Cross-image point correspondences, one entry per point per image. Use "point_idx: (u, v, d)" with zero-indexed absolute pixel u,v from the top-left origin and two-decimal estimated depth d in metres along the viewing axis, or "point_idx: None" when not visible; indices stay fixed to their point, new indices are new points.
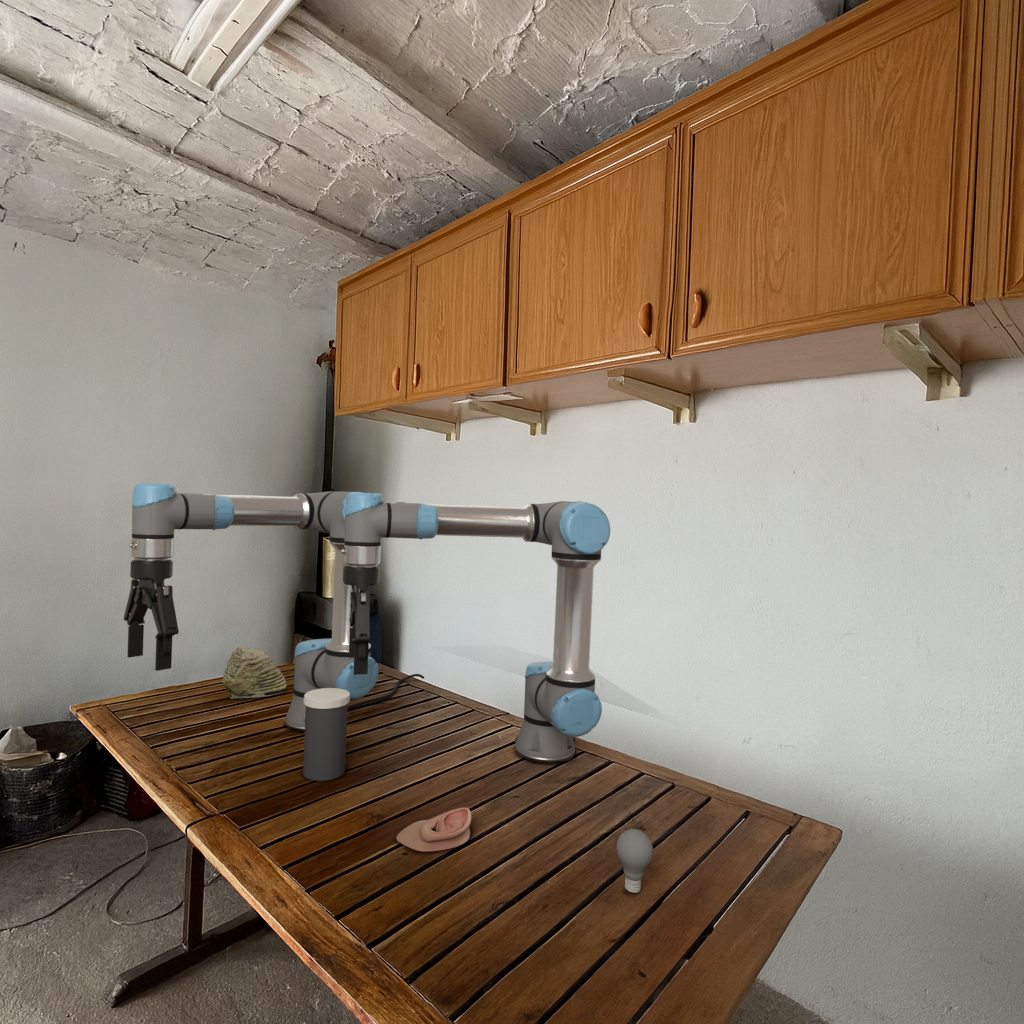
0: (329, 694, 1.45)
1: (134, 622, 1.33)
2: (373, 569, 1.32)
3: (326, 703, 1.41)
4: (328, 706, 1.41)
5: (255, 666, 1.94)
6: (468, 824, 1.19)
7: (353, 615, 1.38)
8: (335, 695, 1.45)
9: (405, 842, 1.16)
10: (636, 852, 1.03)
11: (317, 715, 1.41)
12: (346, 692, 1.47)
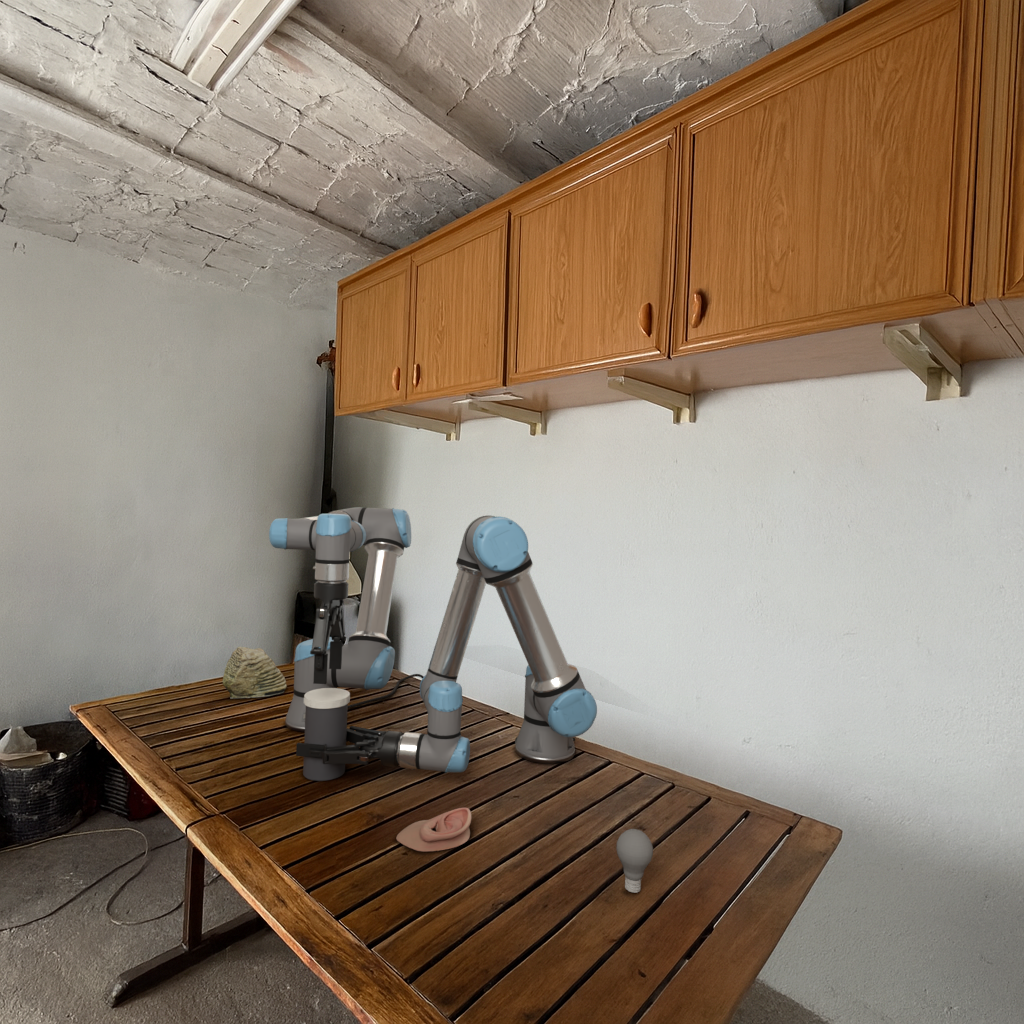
0: (329, 694, 1.45)
1: (335, 638, 1.52)
2: None
3: (326, 703, 1.41)
4: (328, 706, 1.41)
5: (255, 666, 1.94)
6: (468, 824, 1.19)
7: None
8: (335, 695, 1.45)
9: (405, 842, 1.16)
10: (636, 852, 1.03)
11: (318, 715, 1.41)
12: (346, 692, 1.47)
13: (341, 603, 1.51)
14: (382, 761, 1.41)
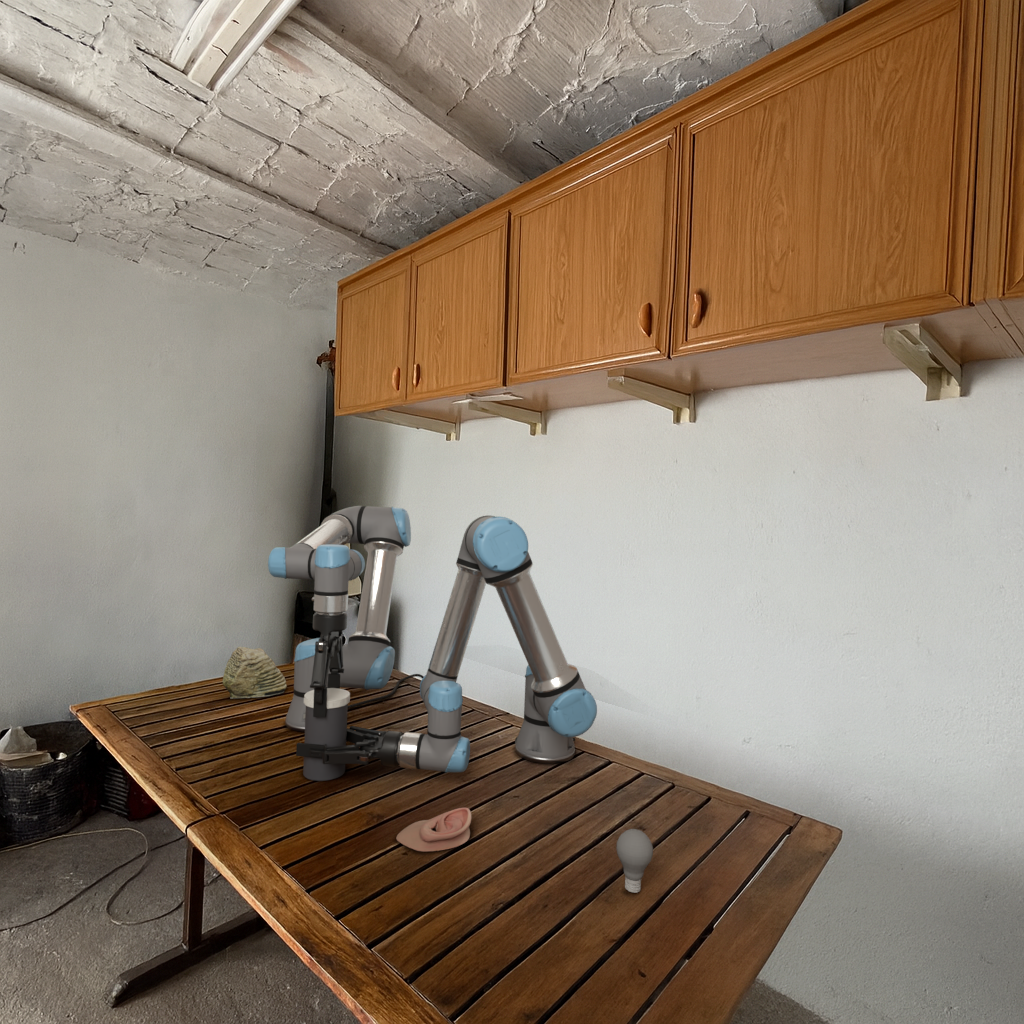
0: (329, 694, 1.45)
1: (333, 670, 1.51)
2: None
3: None
4: (328, 706, 1.41)
5: (255, 666, 1.94)
6: (468, 824, 1.19)
7: None
8: (335, 695, 1.45)
9: (405, 842, 1.16)
10: (636, 852, 1.03)
11: None
12: (346, 692, 1.47)
13: (340, 634, 1.51)
14: (382, 761, 1.41)
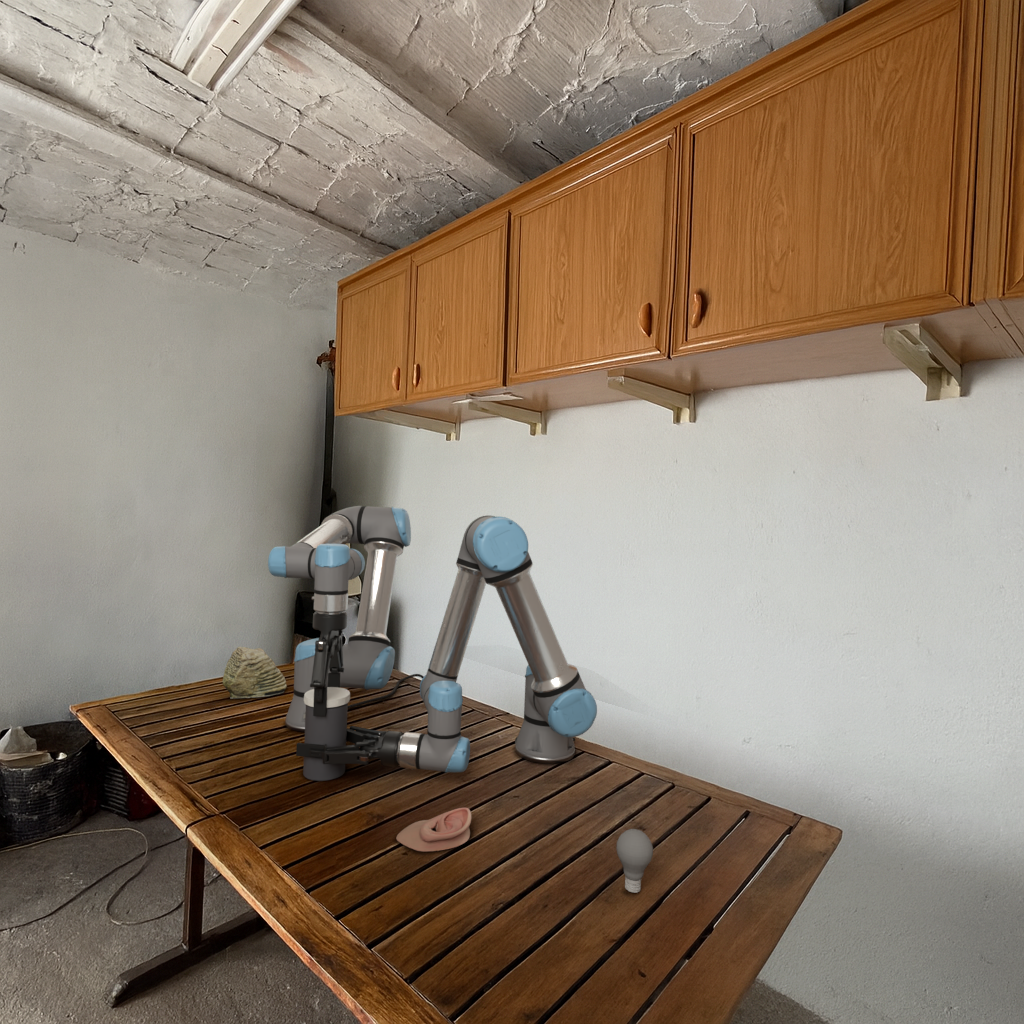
0: (328, 692, 1.46)
1: (333, 669, 1.51)
2: None
3: (348, 696, 1.45)
4: (349, 699, 1.46)
5: (255, 666, 1.94)
6: (468, 824, 1.19)
7: None
8: (334, 691, 1.47)
9: (405, 842, 1.16)
10: (636, 852, 1.03)
11: None
12: (329, 687, 1.50)
13: (340, 633, 1.51)
14: (382, 761, 1.41)
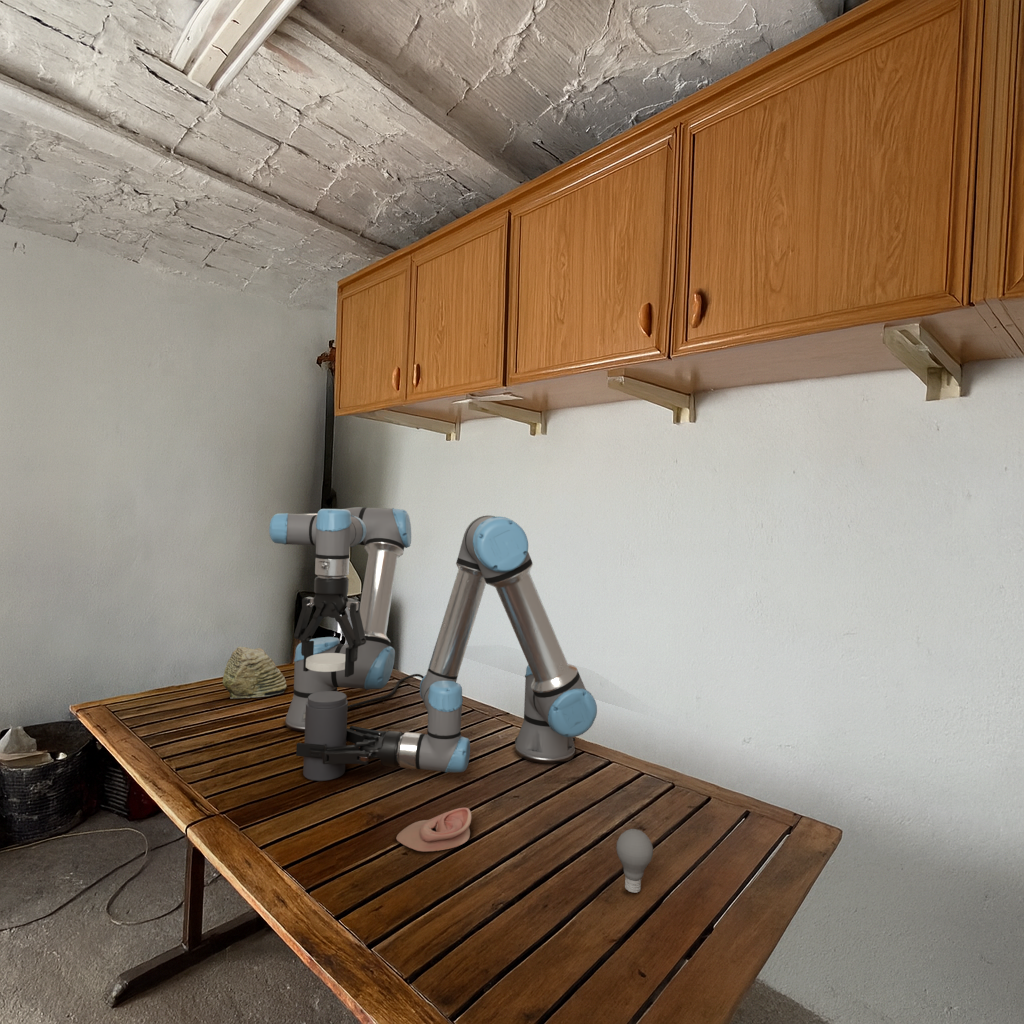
0: (327, 658, 1.46)
1: (307, 639, 1.47)
2: None
3: None
4: None
5: (255, 666, 1.94)
6: (468, 824, 1.19)
7: None
8: (324, 656, 1.47)
9: (405, 842, 1.16)
10: (636, 852, 1.03)
11: (318, 715, 1.41)
12: (310, 657, 1.46)
13: None
14: (382, 761, 1.41)
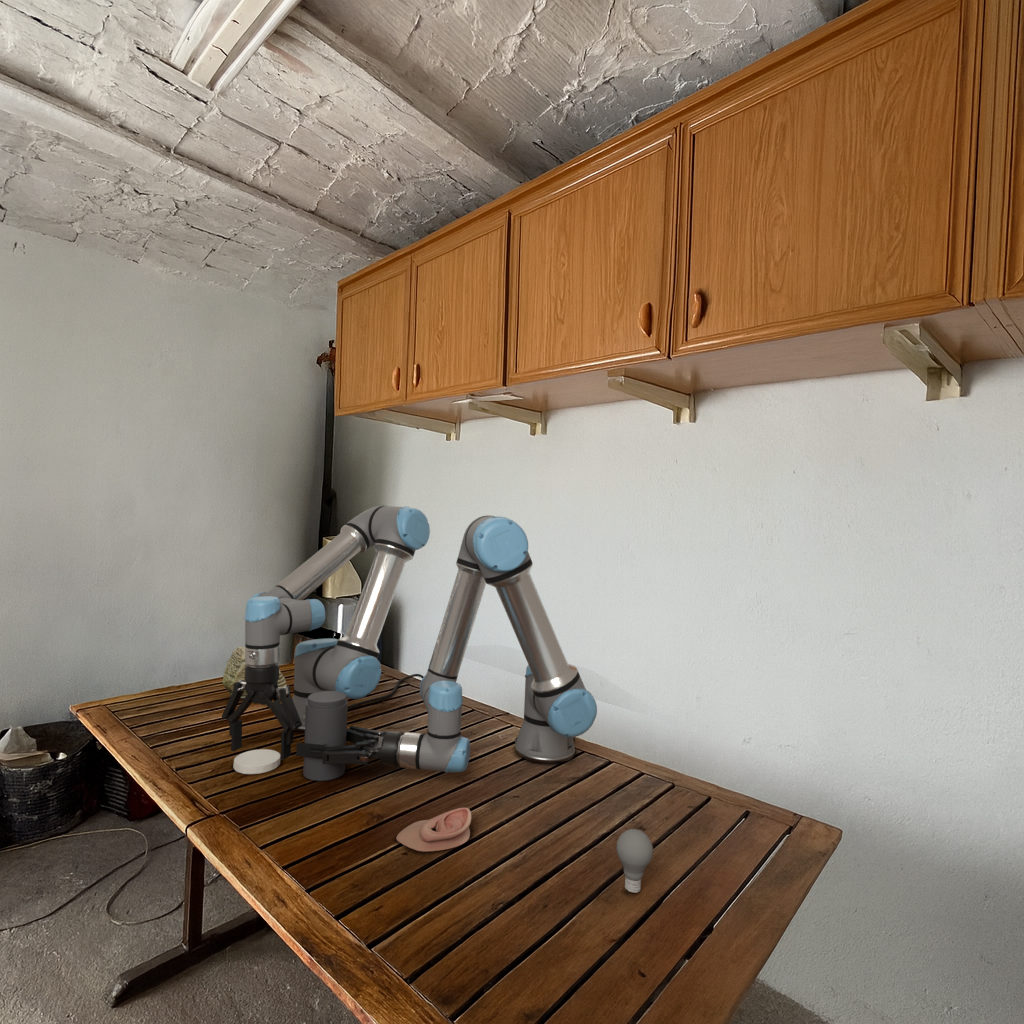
0: (255, 757, 1.48)
1: (235, 719, 1.50)
2: None
3: None
4: None
5: None
6: (468, 824, 1.19)
7: None
8: (253, 754, 1.49)
9: (405, 842, 1.16)
10: (636, 852, 1.03)
11: (318, 715, 1.41)
12: (239, 756, 1.48)
13: None
14: (382, 761, 1.41)
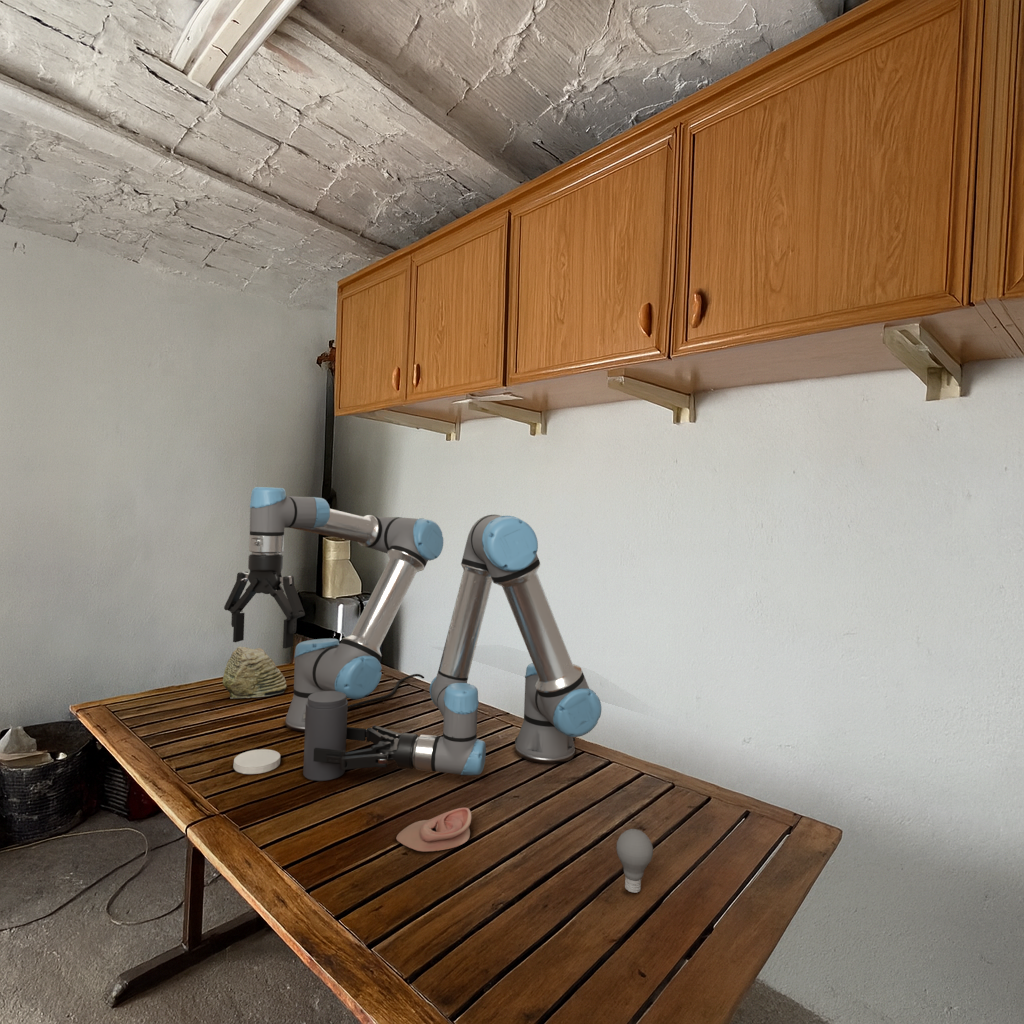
0: (255, 757, 1.48)
1: (237, 611, 1.49)
2: None
3: None
4: None
5: (255, 666, 1.94)
6: (468, 824, 1.19)
7: None
8: (253, 754, 1.49)
9: (405, 842, 1.16)
10: (636, 852, 1.03)
11: (318, 715, 1.41)
12: (239, 756, 1.48)
13: None
14: (398, 763, 1.40)
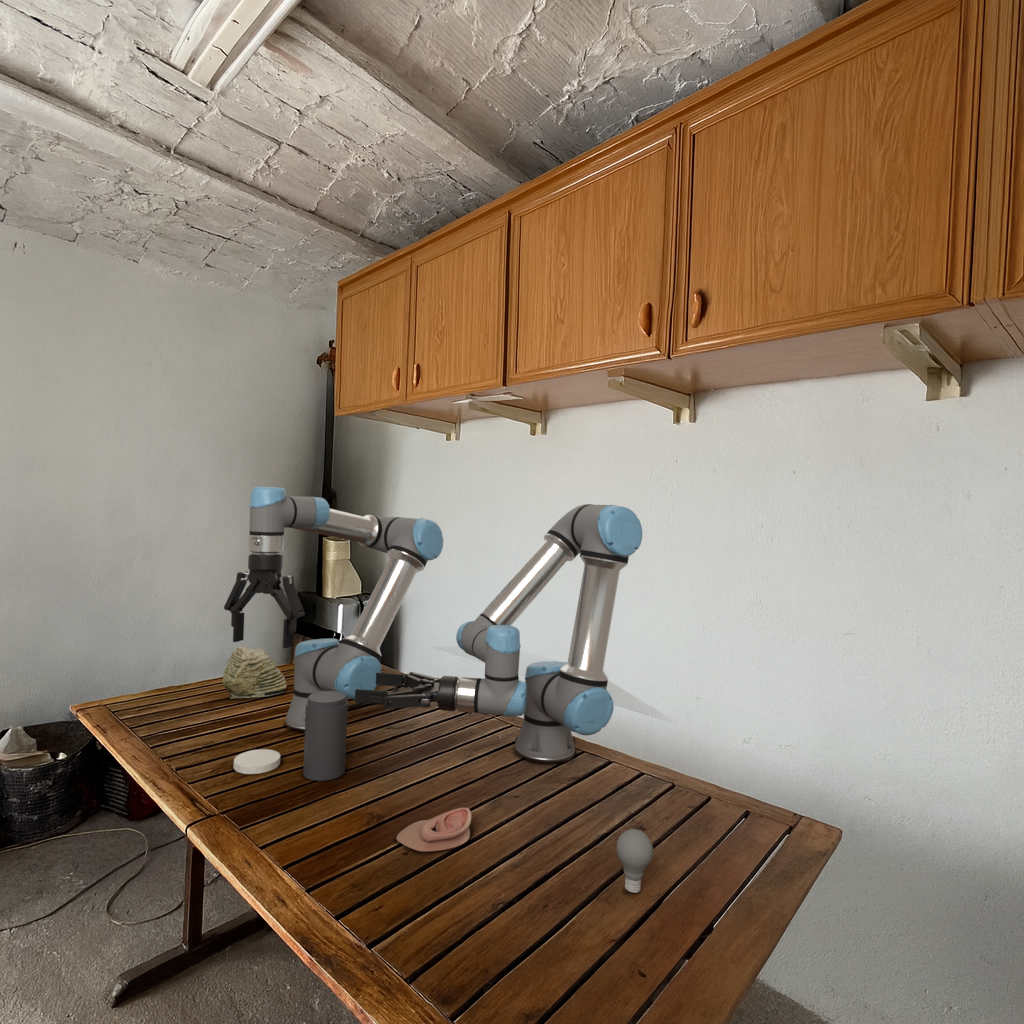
0: (255, 757, 1.48)
1: (237, 610, 1.49)
2: None
3: None
4: None
5: (255, 666, 1.94)
6: (468, 824, 1.19)
7: None
8: (253, 754, 1.49)
9: (405, 842, 1.16)
10: (636, 852, 1.03)
11: (318, 715, 1.41)
12: (239, 756, 1.48)
13: None
14: (440, 704, 1.39)
